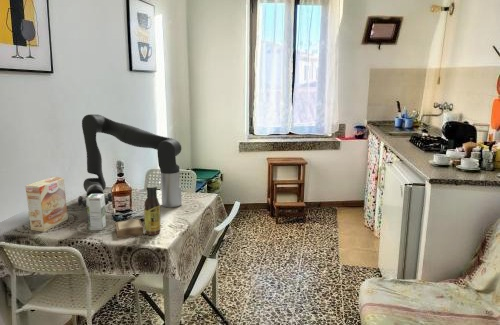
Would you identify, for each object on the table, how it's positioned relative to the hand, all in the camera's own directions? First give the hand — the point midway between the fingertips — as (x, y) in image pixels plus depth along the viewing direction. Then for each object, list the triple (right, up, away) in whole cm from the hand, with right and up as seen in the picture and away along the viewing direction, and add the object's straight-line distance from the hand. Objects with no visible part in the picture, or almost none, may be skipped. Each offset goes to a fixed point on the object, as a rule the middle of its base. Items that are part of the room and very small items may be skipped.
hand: (95, 203), depth 164 cm
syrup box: (+3, -10, -4) cm, 11 cm away
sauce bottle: (+27, -11, -9) cm, 31 cm away
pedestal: (+17, -11, -8) cm, 22 cm away
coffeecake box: (-19, -9, -1) cm, 22 cm away
